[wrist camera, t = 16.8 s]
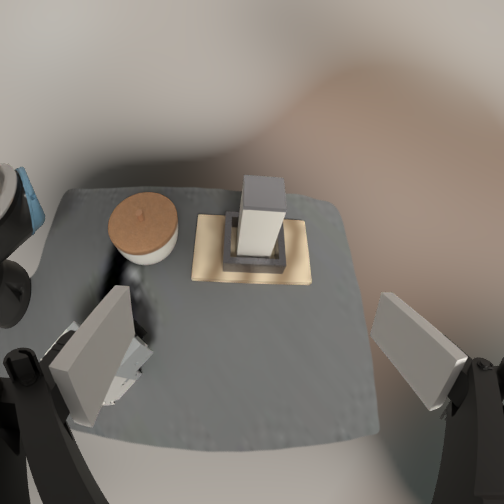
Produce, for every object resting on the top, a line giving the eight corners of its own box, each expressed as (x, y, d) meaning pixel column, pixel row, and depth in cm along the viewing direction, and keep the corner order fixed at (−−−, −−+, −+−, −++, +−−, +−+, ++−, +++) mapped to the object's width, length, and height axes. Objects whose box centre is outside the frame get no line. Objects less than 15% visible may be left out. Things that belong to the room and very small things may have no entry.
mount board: (191, 280, 49) (191, 277, 48) (198, 217, 56) (198, 214, 55) (309, 284, 52) (311, 282, 50) (302, 224, 58) (304, 220, 57)
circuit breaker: (165, 348, 43) (142, 328, 30) (113, 404, 36) (71, 405, 23) (135, 320, 44) (104, 288, 31) (85, 373, 38) (39, 360, 25)
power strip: (236, 260, 51) (243, 205, 37) (236, 231, 54) (244, 173, 40) (268, 261, 52) (286, 209, 38) (267, 233, 55) (283, 176, 41)
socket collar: (222, 271, 50) (223, 262, 47) (225, 221, 55) (225, 211, 52) (282, 274, 51) (286, 265, 48) (279, 225, 56) (282, 214, 53)
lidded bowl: (111, 262, 49) (90, 232, 39) (140, 213, 55) (128, 178, 46) (165, 285, 48) (153, 256, 39) (192, 230, 55) (188, 194, 45)
